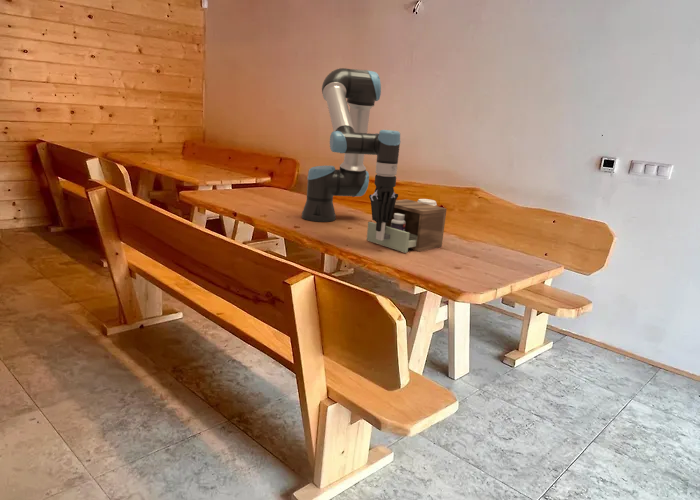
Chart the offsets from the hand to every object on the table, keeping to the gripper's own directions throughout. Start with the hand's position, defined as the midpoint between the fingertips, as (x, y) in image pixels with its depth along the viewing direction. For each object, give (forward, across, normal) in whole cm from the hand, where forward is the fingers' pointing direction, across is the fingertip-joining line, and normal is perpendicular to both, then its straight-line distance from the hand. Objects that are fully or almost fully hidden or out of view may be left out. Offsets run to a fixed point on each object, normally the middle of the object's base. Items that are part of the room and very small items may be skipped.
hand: (379, 239), depth 191 cm
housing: (+3, +17, 0) cm, 18 cm away
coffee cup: (+4, +31, +5) cm, 32 cm away
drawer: (+3, +9, 0) cm, 9 cm away
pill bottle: (+1, +9, 0) cm, 9 cm away
